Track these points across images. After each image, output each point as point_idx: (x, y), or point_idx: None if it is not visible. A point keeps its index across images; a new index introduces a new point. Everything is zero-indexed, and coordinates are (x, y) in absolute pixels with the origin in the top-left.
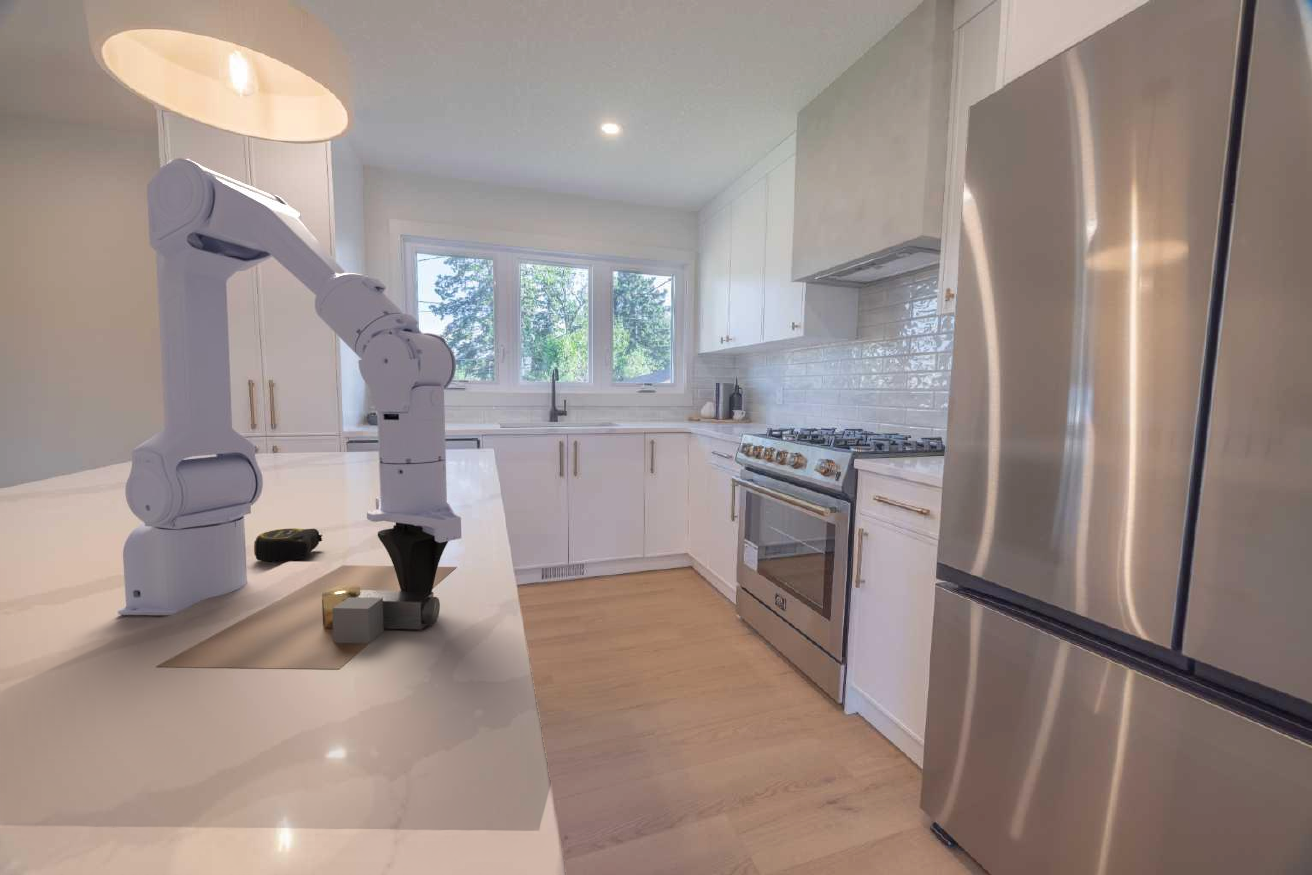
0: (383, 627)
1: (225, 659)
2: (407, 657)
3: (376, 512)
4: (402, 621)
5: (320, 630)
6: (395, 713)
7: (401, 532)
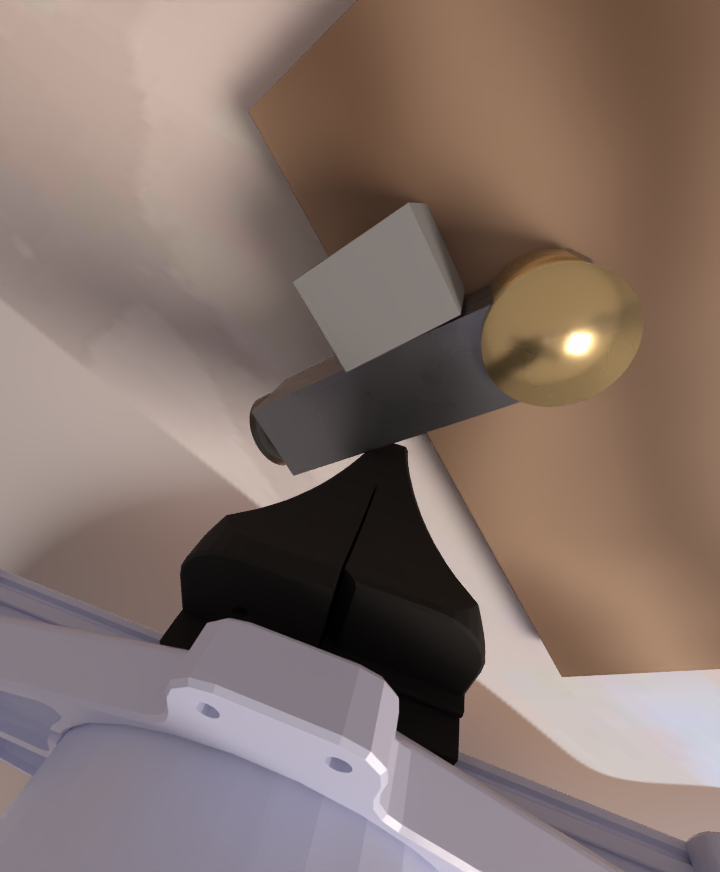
0: None
1: None
2: (291, 318)
3: (249, 737)
4: (318, 368)
5: (557, 230)
6: (94, 145)
7: (277, 623)
